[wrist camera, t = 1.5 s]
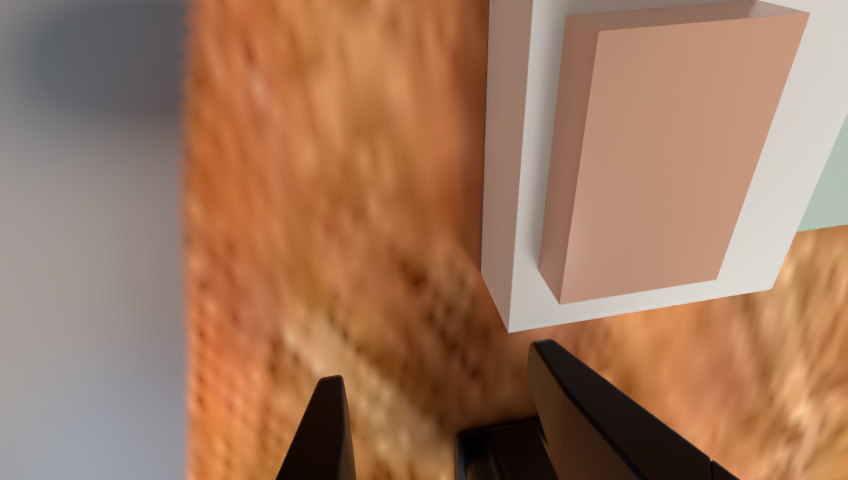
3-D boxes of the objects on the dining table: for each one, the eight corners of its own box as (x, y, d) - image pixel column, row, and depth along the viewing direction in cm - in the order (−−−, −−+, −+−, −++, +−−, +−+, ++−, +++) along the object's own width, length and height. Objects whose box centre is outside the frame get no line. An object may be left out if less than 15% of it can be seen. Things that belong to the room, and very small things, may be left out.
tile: (683, 248, 21) (716, 279, 19) (538, 270, 20) (559, 304, 18) (757, -1, 16) (810, 12, 14) (565, 15, 15) (598, 31, 13)
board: (712, 239, 26) (771, 288, 23) (480, 274, 25) (508, 332, 21) (833, -127, 18) (952, -131, 15) (493, -112, 16) (541, -112, 13)
